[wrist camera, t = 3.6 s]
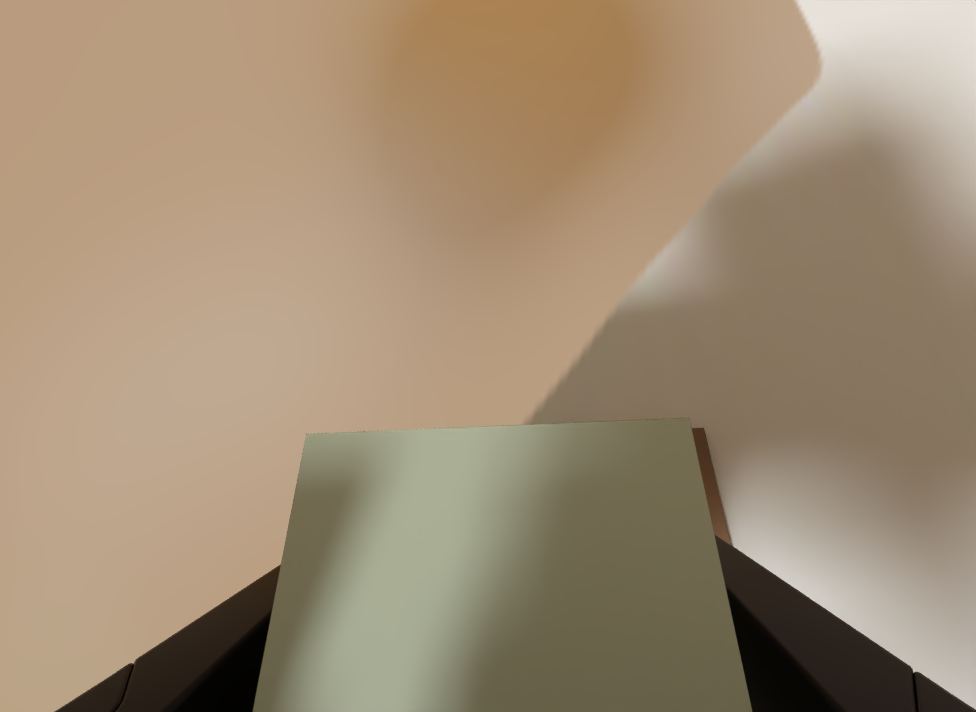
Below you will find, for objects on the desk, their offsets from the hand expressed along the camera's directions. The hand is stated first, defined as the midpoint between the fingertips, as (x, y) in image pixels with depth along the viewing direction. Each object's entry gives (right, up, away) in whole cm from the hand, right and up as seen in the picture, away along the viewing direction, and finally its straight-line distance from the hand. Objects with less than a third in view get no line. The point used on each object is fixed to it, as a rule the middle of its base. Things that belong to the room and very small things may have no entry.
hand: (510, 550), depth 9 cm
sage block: (+1, -5, +5) cm, 7 cm away
